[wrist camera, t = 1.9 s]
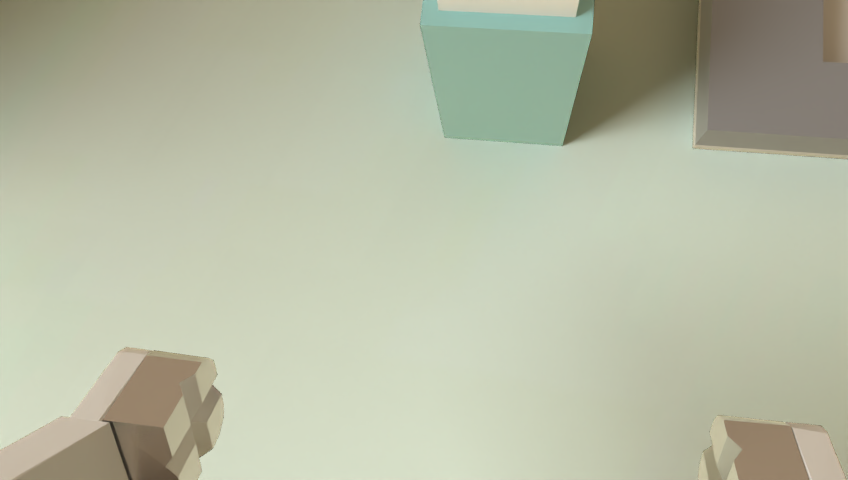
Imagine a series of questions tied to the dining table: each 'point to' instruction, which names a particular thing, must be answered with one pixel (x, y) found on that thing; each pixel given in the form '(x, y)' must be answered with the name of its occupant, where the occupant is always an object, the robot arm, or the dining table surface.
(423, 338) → the dining table surface
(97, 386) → the robot arm
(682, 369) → the dining table surface
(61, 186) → the dining table surface
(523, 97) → the plug
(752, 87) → the socket plate
